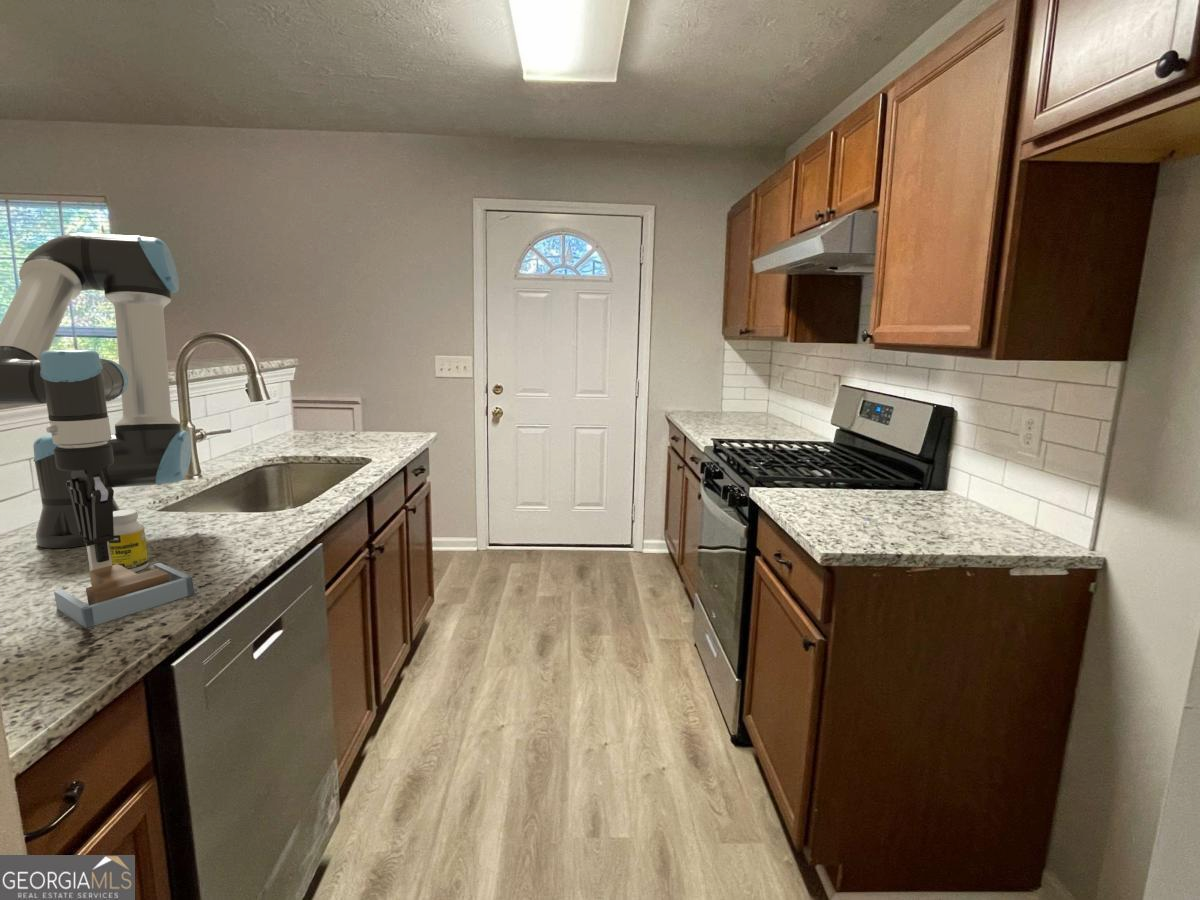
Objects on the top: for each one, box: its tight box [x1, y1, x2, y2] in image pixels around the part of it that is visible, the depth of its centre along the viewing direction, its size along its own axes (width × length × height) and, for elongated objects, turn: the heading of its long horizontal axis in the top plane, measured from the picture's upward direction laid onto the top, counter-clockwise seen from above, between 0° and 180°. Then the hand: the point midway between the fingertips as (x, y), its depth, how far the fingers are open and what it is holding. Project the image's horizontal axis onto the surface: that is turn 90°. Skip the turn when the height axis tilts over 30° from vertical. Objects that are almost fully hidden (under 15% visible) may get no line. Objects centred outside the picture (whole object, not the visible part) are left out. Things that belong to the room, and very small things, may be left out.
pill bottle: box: [109, 509, 149, 573], centre depth 115 cm, size 6×6×11 cm
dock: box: [53, 562, 195, 629], centre depth 102 cm, size 12×15×3 cm
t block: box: [85, 564, 169, 605], centre depth 103 cm, size 12×10×4 cm
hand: (102, 577), depth 107 cm, fingers closed
